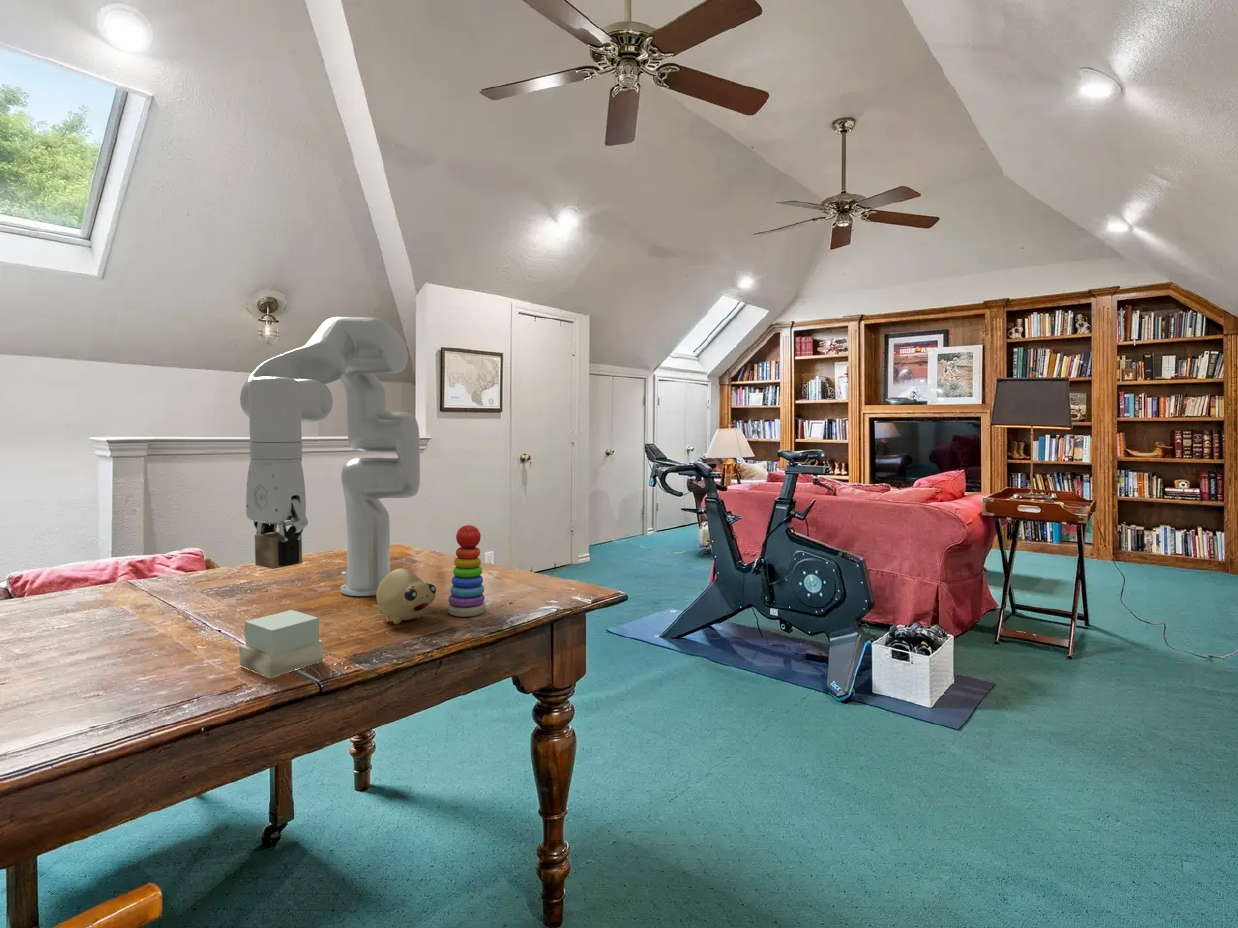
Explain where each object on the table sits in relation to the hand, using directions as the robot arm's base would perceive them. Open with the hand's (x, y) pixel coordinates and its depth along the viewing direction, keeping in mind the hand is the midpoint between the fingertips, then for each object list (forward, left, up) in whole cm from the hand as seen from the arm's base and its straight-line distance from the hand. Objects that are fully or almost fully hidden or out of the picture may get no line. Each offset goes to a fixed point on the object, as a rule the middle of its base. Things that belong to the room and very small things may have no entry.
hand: (278, 561), depth 108 cm
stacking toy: (+5, +38, -18) cm, 42 cm away
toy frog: (-1, +27, -18) cm, 32 cm away
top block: (0, 0, -14) cm, 14 cm away
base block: (0, 0, -18) cm, 18 cm away
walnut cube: (0, 0, 0) cm, 0 cm away
